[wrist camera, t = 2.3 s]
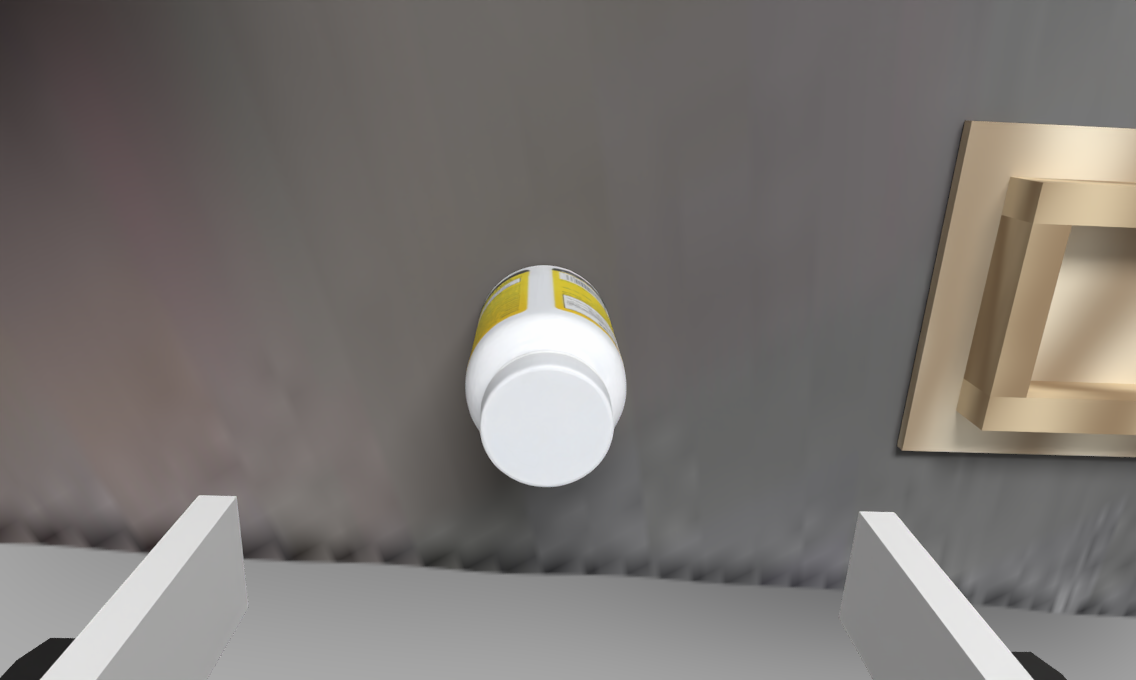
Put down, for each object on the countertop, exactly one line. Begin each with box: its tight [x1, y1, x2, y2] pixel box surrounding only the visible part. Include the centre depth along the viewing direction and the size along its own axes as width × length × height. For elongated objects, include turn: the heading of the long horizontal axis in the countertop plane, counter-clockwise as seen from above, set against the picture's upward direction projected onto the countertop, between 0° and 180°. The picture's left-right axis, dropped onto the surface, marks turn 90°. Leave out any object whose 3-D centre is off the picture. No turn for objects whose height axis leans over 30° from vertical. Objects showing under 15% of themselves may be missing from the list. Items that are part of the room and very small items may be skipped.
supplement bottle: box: [465, 265, 626, 487], centre depth 26 cm, size 5×5×10 cm
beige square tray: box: [897, 121, 1136, 457], centre depth 30 cm, size 14×14×2 cm
